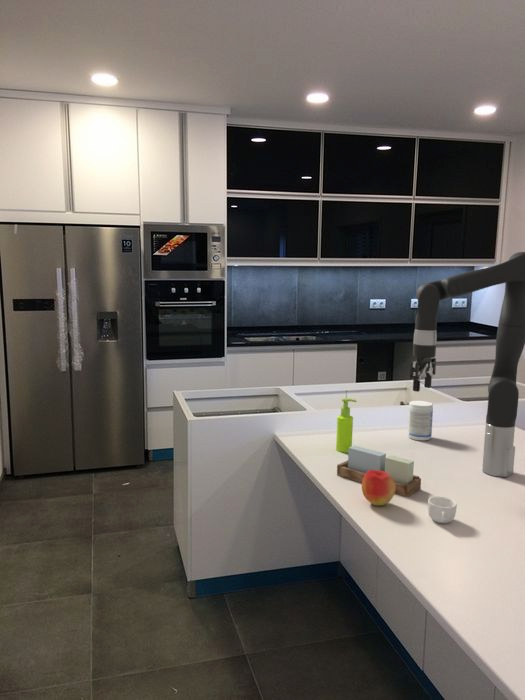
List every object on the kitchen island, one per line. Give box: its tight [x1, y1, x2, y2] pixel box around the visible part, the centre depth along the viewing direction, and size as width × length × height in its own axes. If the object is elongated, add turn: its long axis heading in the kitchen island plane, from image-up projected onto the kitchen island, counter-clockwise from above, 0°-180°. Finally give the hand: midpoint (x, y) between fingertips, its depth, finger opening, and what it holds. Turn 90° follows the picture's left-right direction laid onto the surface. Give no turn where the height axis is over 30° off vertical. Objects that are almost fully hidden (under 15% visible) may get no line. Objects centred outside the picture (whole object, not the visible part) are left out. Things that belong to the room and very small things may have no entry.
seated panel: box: [385, 454, 415, 485], centre depth 180 cm, size 8×4×9 cm, turn 48°
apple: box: [361, 470, 396, 507], centre depth 168 cm, size 10×10×10 cm
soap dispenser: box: [335, 398, 357, 453], centre depth 216 cm, size 6×7×20 cm
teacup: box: [427, 495, 457, 524], centre depth 157 cm, size 10×8×5 cm
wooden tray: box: [336, 459, 422, 498], centre depth 185 cm, size 26×8×4 cm, turn 48°
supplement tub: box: [407, 400, 434, 442], centre depth 234 cm, size 10×10×15 cm
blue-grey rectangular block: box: [347, 444, 387, 473], centre depth 188 cm, size 12×4×9 cm, turn 48°
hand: (422, 389), depth 196 cm, fingers open, 8 cm apart
